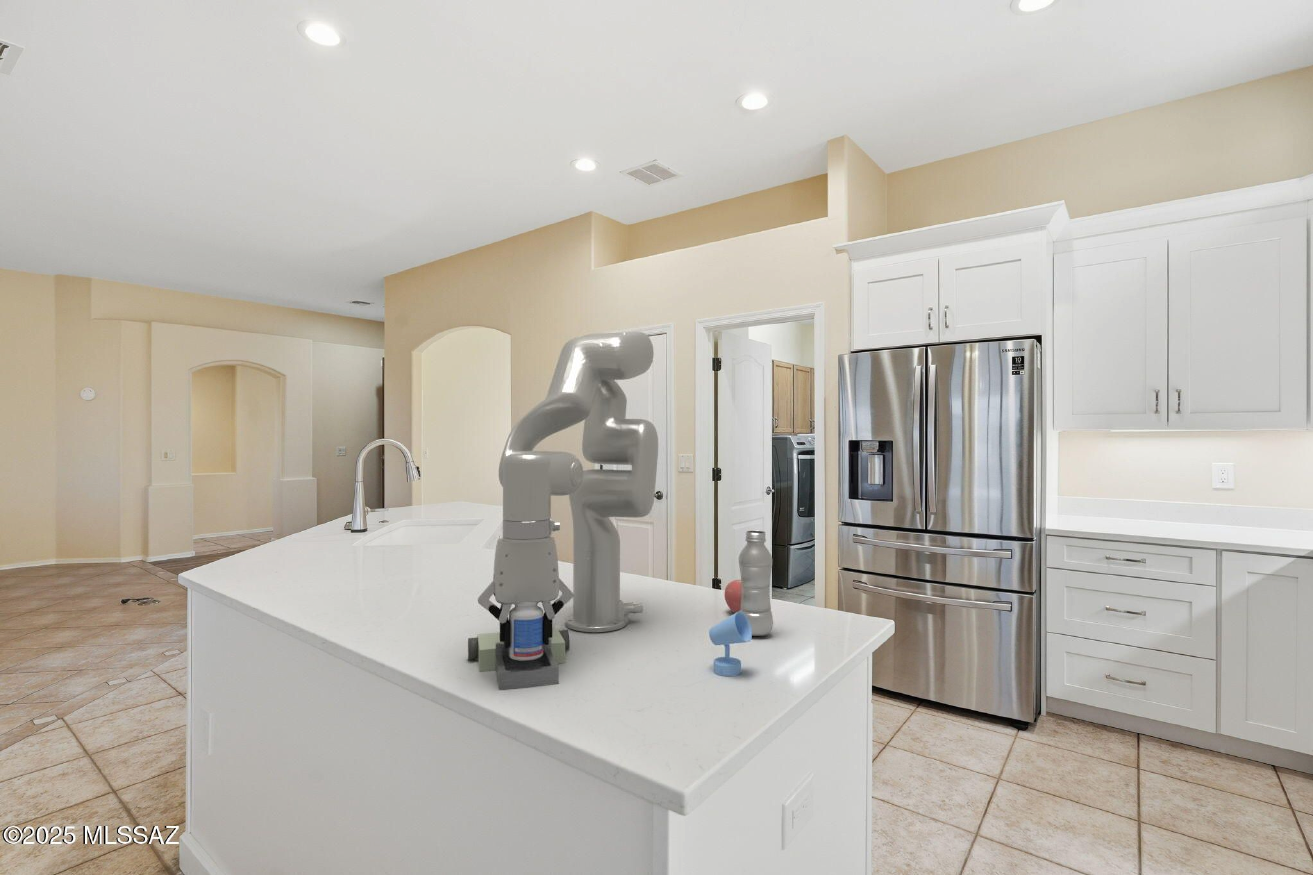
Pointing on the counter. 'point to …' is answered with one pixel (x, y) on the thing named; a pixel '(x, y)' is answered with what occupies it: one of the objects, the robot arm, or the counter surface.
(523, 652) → the pill bottle
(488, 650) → the green block with knobs
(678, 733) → the counter surface
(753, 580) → the plastic bottle
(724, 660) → the spotlight
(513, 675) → the gray square tray
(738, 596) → the apple
